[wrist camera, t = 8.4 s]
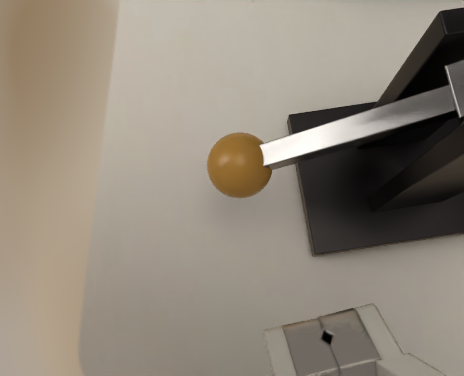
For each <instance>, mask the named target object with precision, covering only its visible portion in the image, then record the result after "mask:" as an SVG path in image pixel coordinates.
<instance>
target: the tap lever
mask: <svg viewBox="0 0 464 376" xmlns="http://www.w3.org/2000/svg"><path fill="white" fill-rule="evenodd" d="M444 69H445V74H446V79H447V83H448V85H446V86H443V87H439V88H436V89H433V90H430V91H427V92H424V93H421V94H417V95H414V96H411V97H408V98H405V99H402V100H399V101H395V102H392V103H389V104H386V105H383V106H380V107H377V108H374V109H370V110H367V111H364V112H361V113H358V114H355V115H352V116H348V117H345V118H342V119H339V120H336V121H333V122H330V123H326V124H323V125H320V126H317V127H314V128H311V129H308V130H304V131H301V132H298V133H295V134H292V135H289V136H286V137H283V138H279V139H276V140H273V141H270V142H267V143H263V142H262V141H261V140H260V139H259V138H257V137H255V136H253V135H251V134H248V133H232V134H229V135H227V136H225V137H223V138H221V139H220V140H219V141H218V142H217V143H216V144H215V145H214V146H213V148H212V149H211V151H210V154H209V156H208V162H207V170H208V174H209V177H210V180H211V182H212V183H213V185H214V186H215V187H216V188H217V189H218V190H219V191H220V192H222V193H223V194H225V195H227V196H230V197H234V198H246V197H250V196H253V195H255V194H257V193H258V192H260V191H261V190H262V189H263V188H264V187H265V186H266V184H267V183H268V181H269V179H270V177H271V174H272V170H274V169H278V168H281V167H285V166H288V165H292V164H295V163H299V162H302V161H306V160H309V159H313V158H316V157H320V156H323V155H327V154H330V153H334V152H337V151H341V150H344V149H348V148H352V147H355V146H359V145H362V144H366V143H369V142H373V141H376V140H380V139H383V138H387V137H390V136H394V135H397V134H401V133H404V132H408V131H411V130H415V129H418V128H422V127H425V126H429V125H432V124H436V123H439V122H443V121H446V120H450V119H453V118H456V117H457V120H458V123H459V126H460V125H461V124H462V123H464V59H461V60H458V61H455V62H452V63H449V64H446V65H445V66H444Z"/></svg>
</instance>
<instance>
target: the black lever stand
mask: <svg viewBox="0 0 464 376" xmlns="http://www.w3.org/2000/svg"><path fill="white" fill-rule="evenodd" d="M461 59H464V8H457V9H451V10H444V11H440V12H439V13H438V14H437V16H436V17H435V19H434V20H433V22H432V23H431V25H430V26H429V28H428V29H427V30H426V32H425V33H424V35H423V36H422V38H421V39H420V41H419V42H418V44H417V45H416V46H415V48H414V49H413V51H412V52H411V54H410V55H409V57H408V58H407V60H406V61H405V62H404V64H403V65H402V67H401V68H400V70H399V71H398V73H397V74H396V76H395V77H394V78H393V80H392V81H391V83H390V84H389V86H388V87H387V89H386V90H385V92H384V93H383V94H382V96H381V97H380V99H379V100H378V102H371V103H364V104H358V105H351V106H344V107H338V108H331V109H324V110H318V111H311V112H305V113H298V114H291V115H289V117H288V121H287V123H288V129H289V134H290V135H292V134H295V133H298V132H301V131H304V130H308V129H311V128H314V127H317V126H320V125H323V124H326V123H330V122H333V121H336V120H339V119H342V118H345V117H348V116H352V115H355V114H358V113H361V112H364V111H367V110H370V109H374V108H377V107H380V106H383V105H386V104H389V103H392V102H395V101H399V100H402V99H405V98H408V97H411V96H414V95H417V94H421V93H424V92H427V91H430V90H433V89H436V88H439V87H443V86H446V85H448V83H447V79H446V74H445V69H444V66H445V65H446V64H449V63H452V62H455V61H458V60H461ZM295 166H296V171H297V177H298V182H299V187H300V193H301V198H302V204H303V209H304V214H305V220H306V225H307V230H308V236H309V241H310V246H311V252H312V256H318V255H325V254H331V253H338V252H345V251H351V250H358V249H365V248H371V247H378V246H385V245H391V244H398V243H405V242H411V241H418V240H425V239H432V238H438V237H445V236H452V235H458V234H464V123H462V124H461V125H460V126H459V123H458V120H457V117H456V118H453V119H450V120H446V121H443V122H439V123H436V124H432V125H429V126H425V127H422V128H418V129H415V130H411V131H408V132H404V133H401V134H397V135H394V136H390V137H387V138H383V139H380V140H376V141H373V142H369V143H366V144H362V145H359V146H355V147H352V148H348V149H344V150H341V151H337V152H334V153H330V154H327V155H323V156H320V157H316V158H313V159H309V160H306V161H302V162H299V163H295Z"/></svg>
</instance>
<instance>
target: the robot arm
mask: <svg viewBox="0 0 464 376" xmlns="http://www.w3.org/2000/svg"><path fill="white" fill-rule="evenodd" d="M263 333H264V338H265V343H266V347H267V351H268V356H269V360H270V364H271V369H272V373H273V376H446V375H445V374H443V373H441V372H440V371H438V370H436V369H435V368H433V367H431V366H430V365H428V364H427V363H425V362H423V361H422V360H420V359H418V358H417V357H415V356H413V355H412V354H410V353H407V354H403V352H402V351H401V349H400V347H399V345H398V344H397V342H396V340H395V338H394V337H393V335H392V333H391V331H390V330H389V328H388V326H387V324H386V323H385V321H384V319H383V317H382V316H381V314H380V312H379V310H378V309H377V307H376V306H375V305H374V304H369V305H365V306H361V307H357V308H351V309H347V310H343V311H340V312H336V313H332V314H328V315H324V316H320V317H318V318H315V319H311V320H306V321H301V322H297V323H292V324H288V325H283V326H279V327H275V328H271V329H266V330H263Z"/></svg>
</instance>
